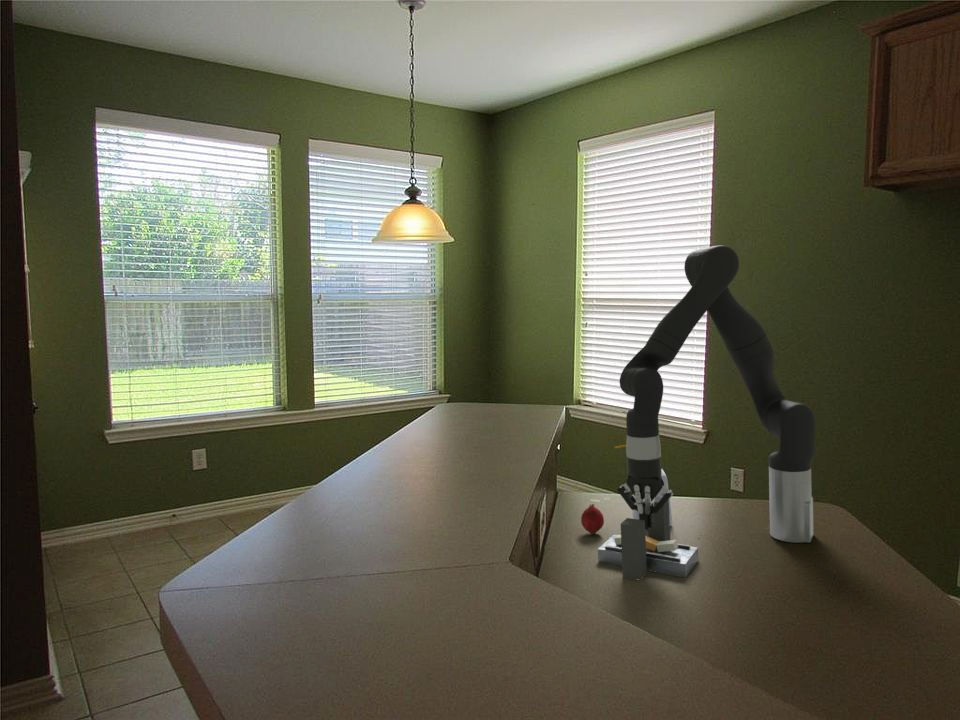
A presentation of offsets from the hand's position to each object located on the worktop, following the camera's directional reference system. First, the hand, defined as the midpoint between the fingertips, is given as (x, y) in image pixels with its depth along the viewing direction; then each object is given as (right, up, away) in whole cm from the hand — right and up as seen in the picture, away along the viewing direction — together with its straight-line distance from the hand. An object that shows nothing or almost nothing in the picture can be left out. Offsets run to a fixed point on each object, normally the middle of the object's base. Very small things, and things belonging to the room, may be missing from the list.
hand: (646, 528), depth 146 cm
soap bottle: (+6, -5, +25) cm, 26 cm away
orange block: (0, -5, 0) cm, 5 cm away
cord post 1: (-4, -9, -6) cm, 12 cm away
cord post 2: (+5, -7, +8) cm, 11 cm away
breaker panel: (0, -8, +1) cm, 8 cm away
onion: (-9, -7, +19) cm, 22 cm away
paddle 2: (+4, -5, -2) cm, 7 cm away
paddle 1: (-4, -5, +3) cm, 7 cm away
